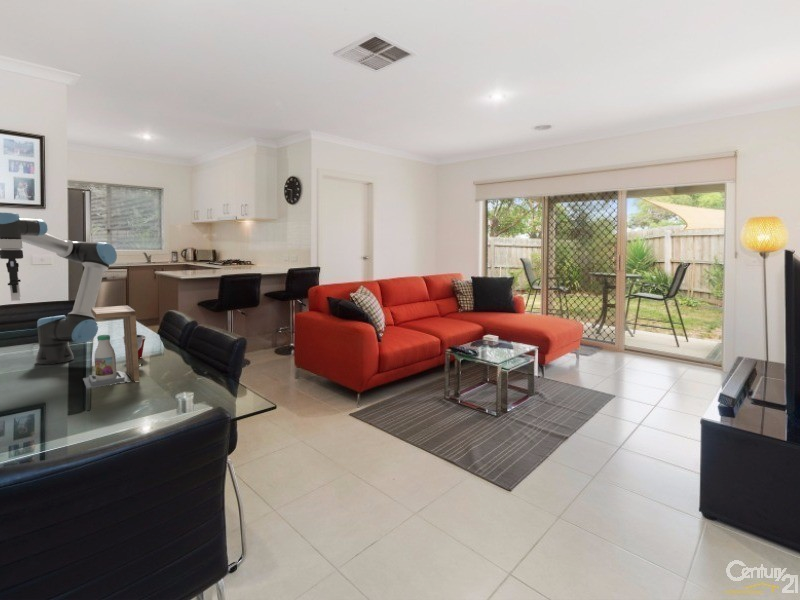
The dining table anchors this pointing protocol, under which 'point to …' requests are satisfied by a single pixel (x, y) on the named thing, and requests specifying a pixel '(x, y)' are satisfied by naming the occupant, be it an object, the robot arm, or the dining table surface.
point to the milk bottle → (105, 359)
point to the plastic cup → (141, 347)
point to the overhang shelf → (129, 334)
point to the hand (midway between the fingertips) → (16, 298)
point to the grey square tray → (93, 383)
